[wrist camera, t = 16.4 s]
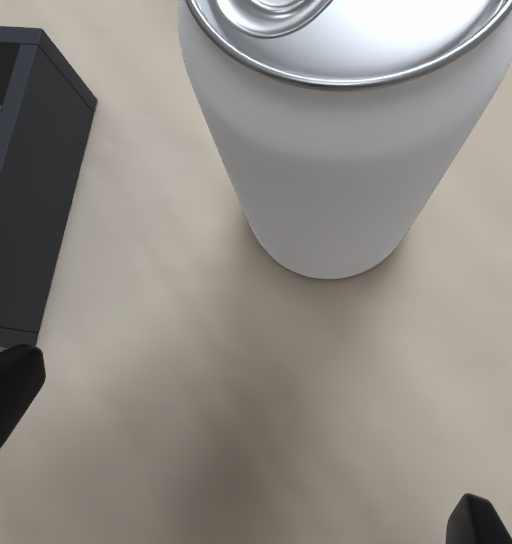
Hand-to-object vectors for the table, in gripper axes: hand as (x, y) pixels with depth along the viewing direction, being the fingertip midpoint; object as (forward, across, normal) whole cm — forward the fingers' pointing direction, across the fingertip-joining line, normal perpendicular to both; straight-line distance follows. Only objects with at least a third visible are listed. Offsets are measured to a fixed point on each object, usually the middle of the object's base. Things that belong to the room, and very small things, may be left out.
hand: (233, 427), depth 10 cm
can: (+12, 0, 0) cm, 12 cm away
